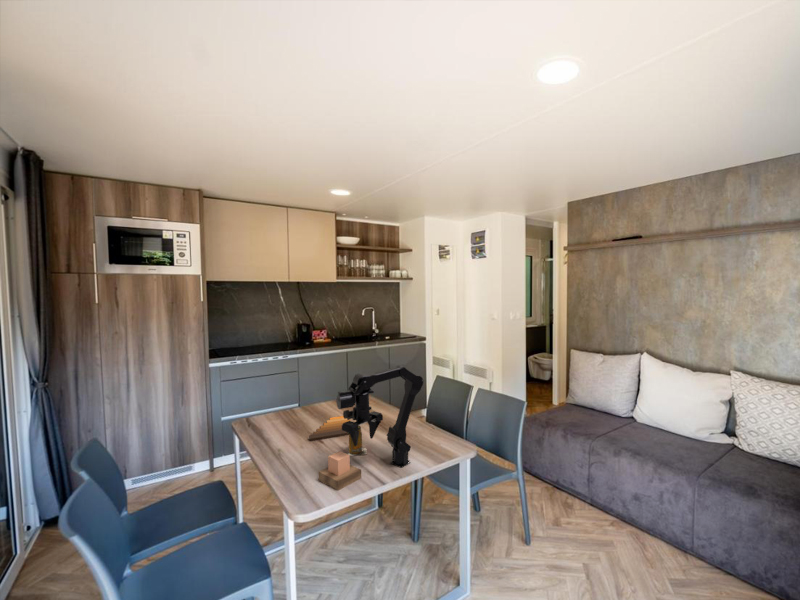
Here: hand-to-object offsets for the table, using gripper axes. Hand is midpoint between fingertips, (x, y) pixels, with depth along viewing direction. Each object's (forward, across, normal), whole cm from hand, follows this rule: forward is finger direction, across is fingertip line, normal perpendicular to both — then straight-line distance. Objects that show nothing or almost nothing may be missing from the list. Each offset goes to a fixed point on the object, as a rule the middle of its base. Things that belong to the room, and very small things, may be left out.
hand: (363, 442), depth 153 cm
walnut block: (+13, +10, -4) cm, 17 cm away
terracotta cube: (+9, +10, -4) cm, 14 cm away
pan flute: (+14, -22, -50) cm, 56 cm away
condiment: (+13, -12, -16) cm, 24 cm away
